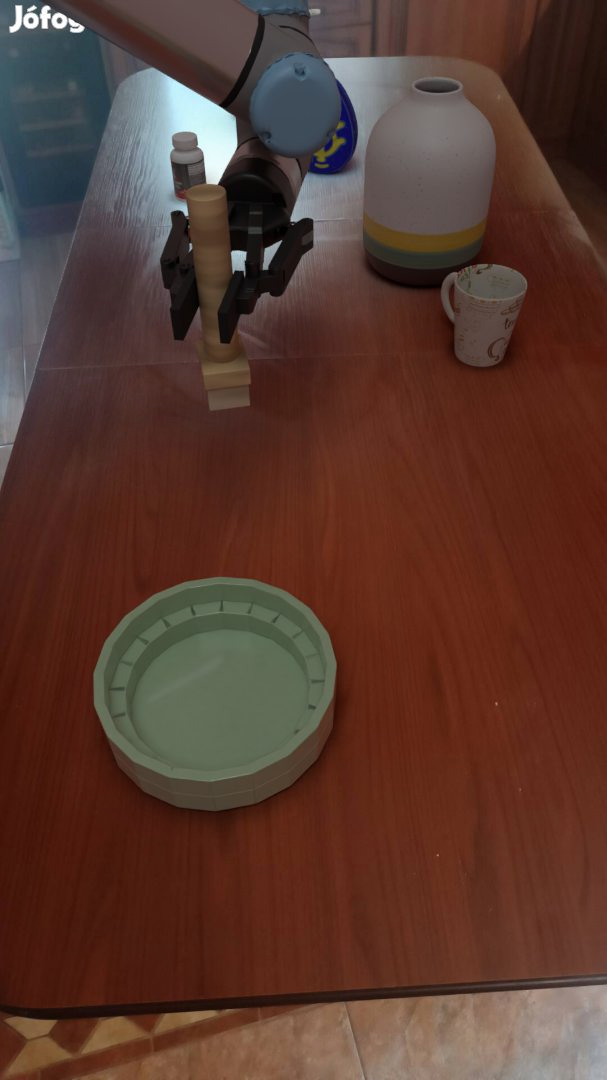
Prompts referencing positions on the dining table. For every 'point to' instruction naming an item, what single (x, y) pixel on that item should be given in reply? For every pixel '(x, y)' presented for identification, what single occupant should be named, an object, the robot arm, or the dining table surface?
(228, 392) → the brush
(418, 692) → the dining table surface
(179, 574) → the dining table surface
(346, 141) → the ornament
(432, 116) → the vase
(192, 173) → the pill bottle
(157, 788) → the bowl
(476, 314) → the mug
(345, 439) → the dining table surface
